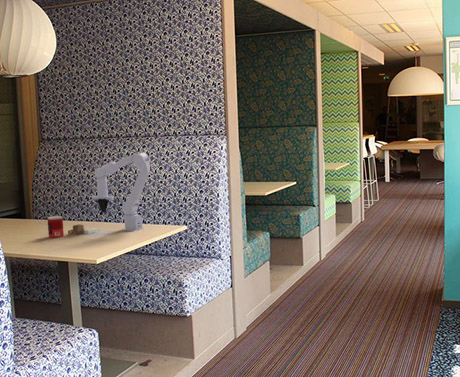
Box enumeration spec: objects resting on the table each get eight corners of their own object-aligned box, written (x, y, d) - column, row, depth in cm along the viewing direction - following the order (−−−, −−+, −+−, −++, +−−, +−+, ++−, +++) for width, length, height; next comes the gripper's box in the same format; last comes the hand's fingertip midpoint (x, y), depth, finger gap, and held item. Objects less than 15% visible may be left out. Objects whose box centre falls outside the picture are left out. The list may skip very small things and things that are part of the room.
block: (83, 233, 341) (83, 224, 340) (78, 235, 337) (78, 226, 337) (78, 233, 343) (77, 224, 342) (73, 234, 339) (72, 225, 339)
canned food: (66, 236, 338) (65, 216, 337) (58, 239, 330) (56, 218, 329) (54, 235, 340) (53, 215, 339) (45, 238, 333) (44, 218, 332)
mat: (115, 232, 345) (115, 231, 345) (95, 237, 330) (95, 236, 330) (88, 230, 354) (87, 229, 354) (67, 235, 340) (66, 234, 340)
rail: (79, 232, 344) (78, 228, 344) (70, 235, 338) (70, 230, 338) (77, 232, 345) (76, 228, 345) (68, 234, 339) (67, 230, 339)
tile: (96, 228, 345) (87, 227, 349) (88, 230, 339) (78, 229, 342) (97, 231, 345) (87, 231, 349) (88, 234, 339) (78, 233, 343)
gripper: (87, 189, 352) (89, 212, 354) (107, 189, 345) (109, 213, 347) (96, 187, 358) (97, 210, 360) (115, 188, 352) (117, 211, 353)
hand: (103, 212), depth 354 cm, fingers closed
